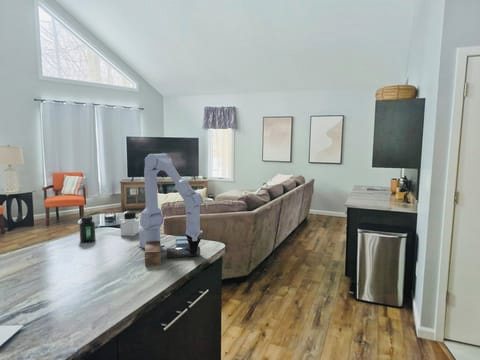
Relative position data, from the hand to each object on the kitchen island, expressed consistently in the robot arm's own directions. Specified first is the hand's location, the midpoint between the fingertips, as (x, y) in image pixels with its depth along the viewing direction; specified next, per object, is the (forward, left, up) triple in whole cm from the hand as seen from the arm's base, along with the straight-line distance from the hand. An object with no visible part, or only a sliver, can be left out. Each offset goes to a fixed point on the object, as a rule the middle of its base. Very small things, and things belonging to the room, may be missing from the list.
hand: (193, 252), depth 138 cm
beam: (-12, -12, -2) cm, 17 cm away
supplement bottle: (-57, -12, -2) cm, 58 cm away
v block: (-10, +6, -2) cm, 11 cm away
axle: (-3, -3, 0) cm, 4 cm away
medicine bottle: (-49, +7, -2) cm, 49 cm away
